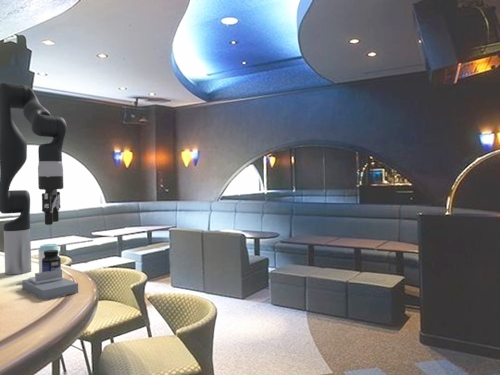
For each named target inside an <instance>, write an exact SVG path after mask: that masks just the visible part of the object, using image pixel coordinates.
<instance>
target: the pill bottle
mask: <svg viewBox="0 0 500 375" xmlns="http://www.w3.org/2000/svg"><path fill="white" fill-rule="evenodd" d="M44 255H45V257H44V258H43V259H42V272H46V271H52V270H58V269H62V264H61V262H62V260H61V257H60V255H59V256H58V250H47V251H44Z"/></svg>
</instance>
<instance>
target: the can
mask: <svg viewBox="0 0 500 375" xmlns="http://www.w3.org/2000/svg"><path fill="white" fill-rule="evenodd" d="M47 250H58V256H59V257H60V247H58V244H57V243H45V244H41V245H40V247H39V248H38V273H40V272H42V259H43V258H44V257H45V255H44V251H47Z"/></svg>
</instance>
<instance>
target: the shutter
mask: <svg viewBox="0 0 500 375" xmlns="http://www.w3.org/2000/svg"><path fill="white" fill-rule="evenodd" d="M62 277H63V269H62V268H61V269H58V270H52V271H46V272H40V273H39V272H36V273H34V276H32V277H28V278H27V280H29V281H31V282H33V283H35V284H40V283H46V282H51V281H56V280H62Z"/></svg>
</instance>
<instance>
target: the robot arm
mask: <svg viewBox="0 0 500 375" xmlns="http://www.w3.org/2000/svg"><path fill="white" fill-rule="evenodd" d="M11 109H20V110H21V109H22V112H23V115H24V117H25V119H26V120H27V121H28V122H29V124H30V125H31V131H32V132H33V134H35V135H36V136H38V137H49V138H52V140H51V142H48V143H42V144H39V146H38V147H37V148H38V165H37V176H38V177H37V180H38V181H37V182H38V184H37V185H38V189H39V190H42V191H43V190H44V192H43V193H42V194H41V211H42V213H43V214H44V225H46V226H51V225H53V224H54V222H55V223H56V222H59V221H60V219H59V217H60V215H59V213H60V212H59V211H60V209H61V192H60V191H58V190H63V189H64V166H63V155H62V154H63V153H62V152H63V151H62V150H63V144H64V142H65V137H66V134H67V130H68V126H67V122H66V120H65V118H63V117H61V116H55V115H51V113H50V112H49V110H48V109H46V108H45V107H44V106H43V105H42V104H41V103H40V101H39V98H38V97H37V95H36V94H35V92H34V91H33V89H32V88H31V87H30V86H29V85H26V84H20V83H12V82H11V83H10V82H1V83H0V213H1V214H5V215H7V214H9V215H10V214H20V215H19V216H18V217H17V218H15V219H12V220H11V221H8V222H6V223H4V224H3V243H4V244H3V247H4V248H3V250H4V273H5V275H19V274H20V275H21V274H26V273H29V272H31V271H32V246H31V245H32V244H31V241H32V240H31V216H30V215H31V196H30V193H29V191H28V190H25V189H20V190H19V189H18V190H16V189H15V190H9V189H10V188H11V187H10V186H11V184H12V182H13V180H14V179H15V177H16V175H17V173H19V171H20V170H21V169H22V168H23V166H24V165H25V163H26V161H27V157H28V144H27V140H26V139H25V138H26V137H24V135H23V134H22V132H21V130H20V129H19V128H18V127H17V125H16V124H15V122H14V119H13V116H12V110H11Z"/></svg>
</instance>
